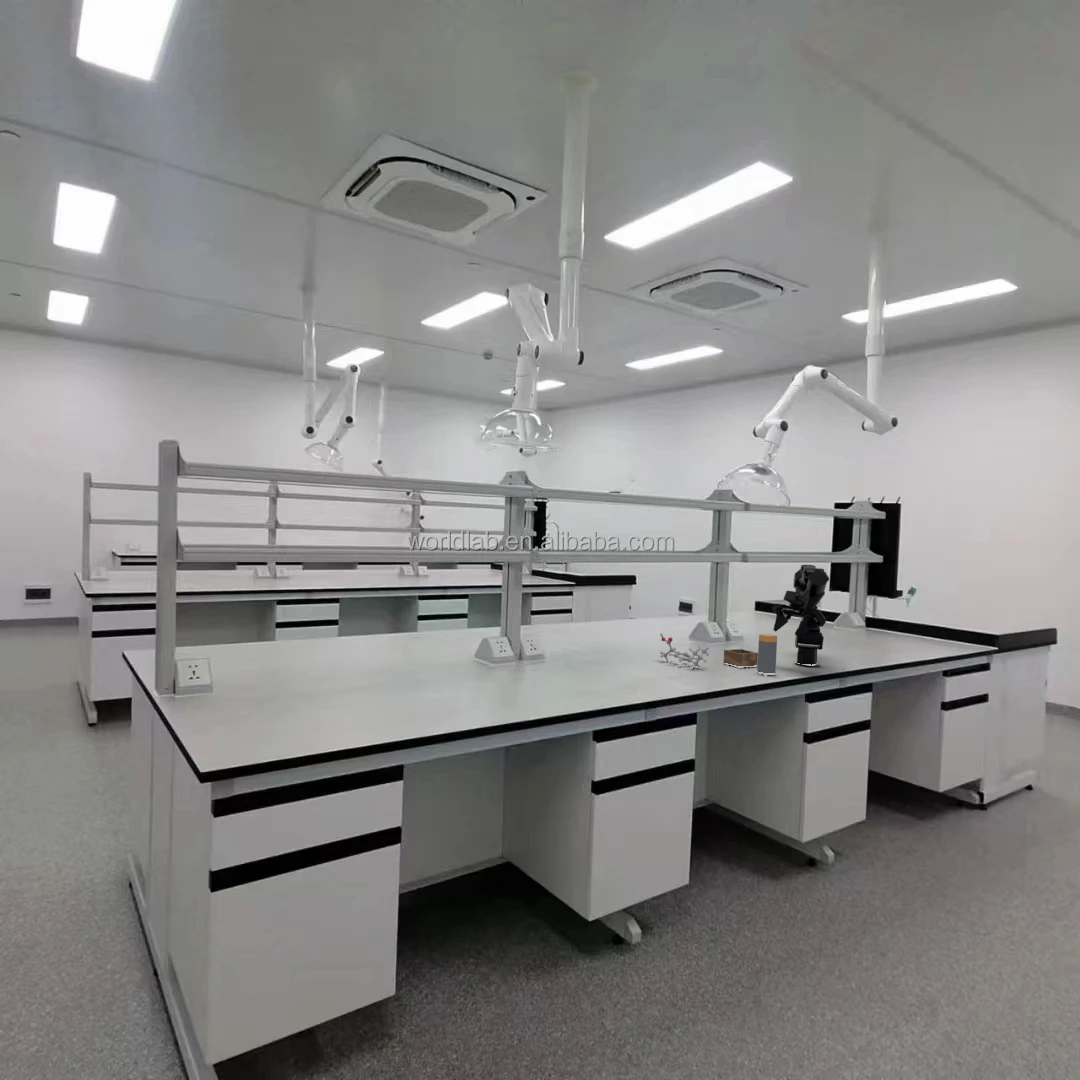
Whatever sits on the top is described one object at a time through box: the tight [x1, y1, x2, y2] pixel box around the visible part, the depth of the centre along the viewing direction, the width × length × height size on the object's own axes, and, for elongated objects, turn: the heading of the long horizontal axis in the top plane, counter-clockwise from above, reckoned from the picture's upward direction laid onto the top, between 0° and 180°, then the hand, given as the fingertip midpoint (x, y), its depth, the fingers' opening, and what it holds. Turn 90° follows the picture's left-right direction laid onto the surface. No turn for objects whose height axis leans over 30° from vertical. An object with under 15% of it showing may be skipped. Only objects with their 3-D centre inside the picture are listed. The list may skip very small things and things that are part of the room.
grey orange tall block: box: [756, 633, 778, 674], centre depth 225 cm, size 4×4×13 cm
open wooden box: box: [723, 648, 758, 666], centre depth 238 cm, size 8×8×5 cm
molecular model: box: [659, 632, 710, 668], centre depth 234 cm, size 19×10×10 cm, turn 31°
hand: (784, 632), depth 228 cm, fingers open, 9 cm apart
